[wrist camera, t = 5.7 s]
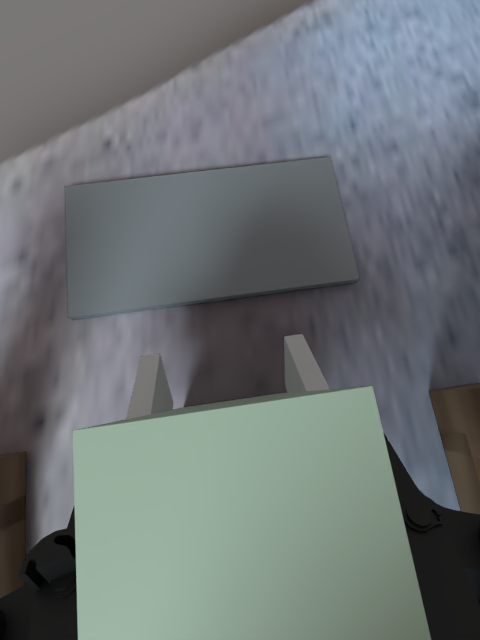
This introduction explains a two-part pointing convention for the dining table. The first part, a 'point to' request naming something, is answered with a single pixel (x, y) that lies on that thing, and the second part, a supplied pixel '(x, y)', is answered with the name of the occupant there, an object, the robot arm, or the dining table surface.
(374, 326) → the dining table surface
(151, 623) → the tall green square pillar
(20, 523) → the frame
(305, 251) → the mat
